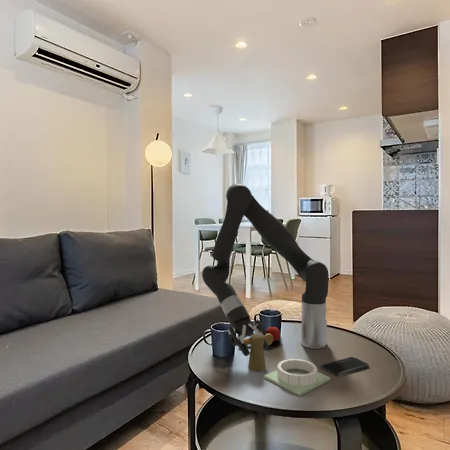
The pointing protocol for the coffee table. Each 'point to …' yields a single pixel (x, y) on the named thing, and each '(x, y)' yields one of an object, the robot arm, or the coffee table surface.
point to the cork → (256, 353)
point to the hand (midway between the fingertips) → (257, 351)
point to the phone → (345, 366)
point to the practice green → (297, 376)
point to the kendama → (268, 336)
